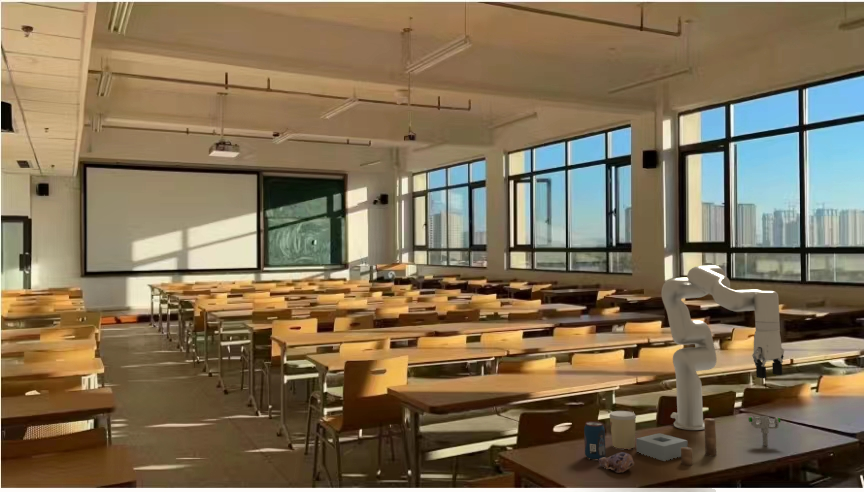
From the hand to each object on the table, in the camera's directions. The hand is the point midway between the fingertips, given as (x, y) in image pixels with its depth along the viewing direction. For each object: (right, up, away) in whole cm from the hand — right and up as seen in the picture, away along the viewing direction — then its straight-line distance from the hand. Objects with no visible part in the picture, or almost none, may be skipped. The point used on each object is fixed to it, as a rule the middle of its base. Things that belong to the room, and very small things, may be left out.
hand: (769, 376), depth 226 cm
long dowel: (-20, -27, +1) cm, 34 cm away
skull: (-56, -29, -12) cm, 64 cm away
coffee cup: (-47, -29, +13) cm, 56 cm away
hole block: (-36, -28, +3) cm, 46 cm away
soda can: (-60, -29, +1) cm, 67 cm away
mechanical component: (+4, -27, +10) cm, 29 cm away
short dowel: (-32, -28, -8) cm, 43 cm away
